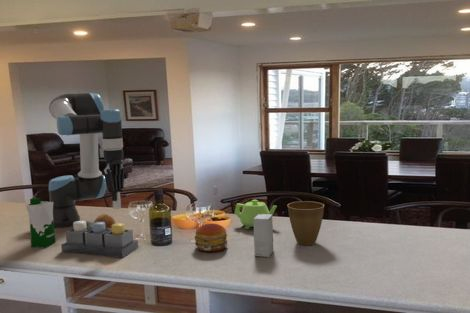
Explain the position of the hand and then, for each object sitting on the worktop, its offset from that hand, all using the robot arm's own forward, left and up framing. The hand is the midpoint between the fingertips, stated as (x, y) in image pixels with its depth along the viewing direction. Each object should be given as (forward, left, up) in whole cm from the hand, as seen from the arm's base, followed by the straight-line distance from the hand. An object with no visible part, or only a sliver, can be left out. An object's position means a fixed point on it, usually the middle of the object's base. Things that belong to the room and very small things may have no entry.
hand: (117, 208), depth 175 cm
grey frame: (0, -9, -18) cm, 20 cm away
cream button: (0, -18, -12) cm, 22 cm away
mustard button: (0, 0, -12) cm, 12 cm away
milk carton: (0, -37, -18) cm, 41 cm away
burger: (-12, +35, -18) cm, 41 cm away
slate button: (0, -9, -12) cm, 15 cm away
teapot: (-45, +45, -18) cm, 66 cm away
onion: (-17, -18, -18) cm, 31 cm away
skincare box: (-11, +57, -18) cm, 61 cm away
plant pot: (-27, +71, -18) cm, 78 cm away
